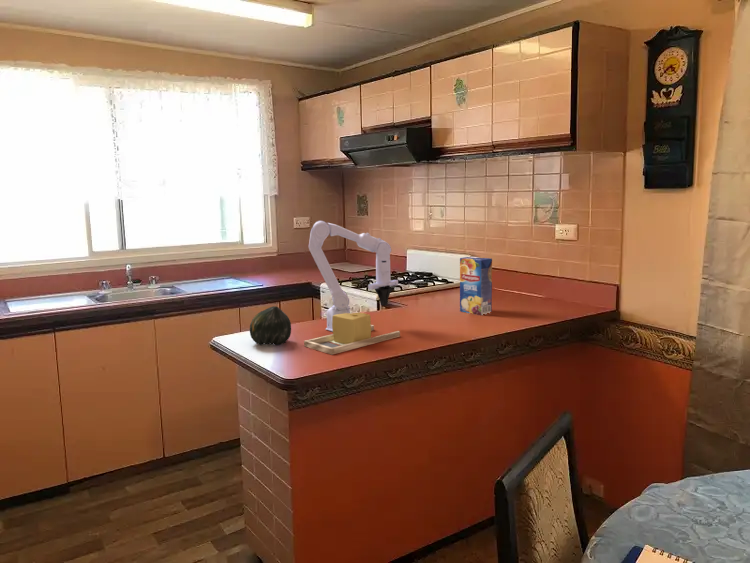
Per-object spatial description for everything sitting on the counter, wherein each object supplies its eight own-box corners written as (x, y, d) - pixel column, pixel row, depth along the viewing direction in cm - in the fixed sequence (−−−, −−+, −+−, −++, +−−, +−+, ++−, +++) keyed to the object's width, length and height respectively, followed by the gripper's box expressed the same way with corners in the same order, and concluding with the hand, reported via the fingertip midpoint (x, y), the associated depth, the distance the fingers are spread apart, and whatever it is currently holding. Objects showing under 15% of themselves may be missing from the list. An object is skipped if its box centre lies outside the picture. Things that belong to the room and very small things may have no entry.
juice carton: (491, 312, 267) (492, 258, 263) (480, 315, 262) (481, 260, 258) (470, 308, 276) (470, 256, 272) (459, 311, 271) (459, 258, 267)
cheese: (351, 336, 231) (350, 310, 230) (372, 340, 224) (372, 314, 223) (332, 341, 224) (331, 315, 222) (353, 346, 217) (353, 319, 215)
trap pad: (309, 346, 219) (309, 345, 219) (326, 342, 224) (326, 341, 224) (332, 353, 209) (332, 352, 209) (349, 348, 215) (349, 348, 214)
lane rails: (304, 346, 219) (303, 340, 219) (371, 329, 241) (371, 324, 241) (331, 354, 207) (331, 349, 207) (400, 336, 230) (400, 331, 229)
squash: (245, 325, 229) (250, 301, 218) (283, 322, 235) (290, 298, 224) (251, 357, 221) (257, 333, 210) (291, 353, 227) (299, 329, 216)
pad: (328, 341, 225) (328, 341, 225) (353, 335, 233) (353, 335, 233) (351, 348, 215) (351, 347, 215) (376, 341, 223) (376, 341, 223)
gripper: (376, 274, 232) (377, 309, 234) (403, 270, 241) (403, 303, 243) (364, 272, 237) (365, 306, 239) (390, 268, 246) (391, 301, 249)
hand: (383, 305), depth 242 cm, fingers closed
